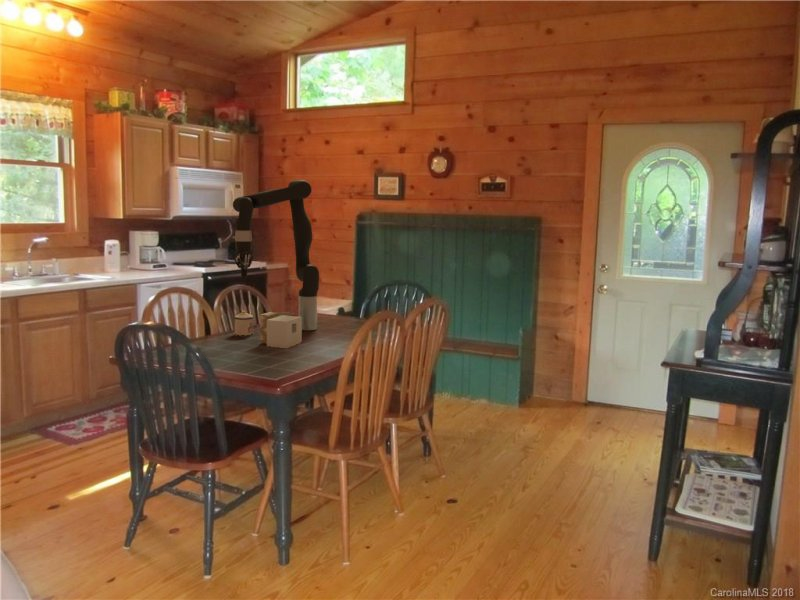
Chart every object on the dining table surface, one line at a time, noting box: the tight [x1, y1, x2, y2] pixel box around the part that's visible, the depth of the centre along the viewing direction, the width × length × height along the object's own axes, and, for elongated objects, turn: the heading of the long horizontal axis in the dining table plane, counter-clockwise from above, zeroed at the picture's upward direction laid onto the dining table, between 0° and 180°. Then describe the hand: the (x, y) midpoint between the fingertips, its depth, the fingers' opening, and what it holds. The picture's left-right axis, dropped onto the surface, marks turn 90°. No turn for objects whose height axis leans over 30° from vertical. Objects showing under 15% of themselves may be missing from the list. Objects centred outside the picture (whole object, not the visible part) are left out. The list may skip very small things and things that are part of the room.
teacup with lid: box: [233, 310, 254, 336], centre depth 319 cm, size 12×9×12 cm
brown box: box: [259, 311, 296, 345], centre depth 298 cm, size 15×8×13 cm, turn 70°
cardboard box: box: [266, 315, 303, 349], centre depth 297 cm, size 10×14×12 cm
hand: (244, 276), depth 310 cm, fingers closed
